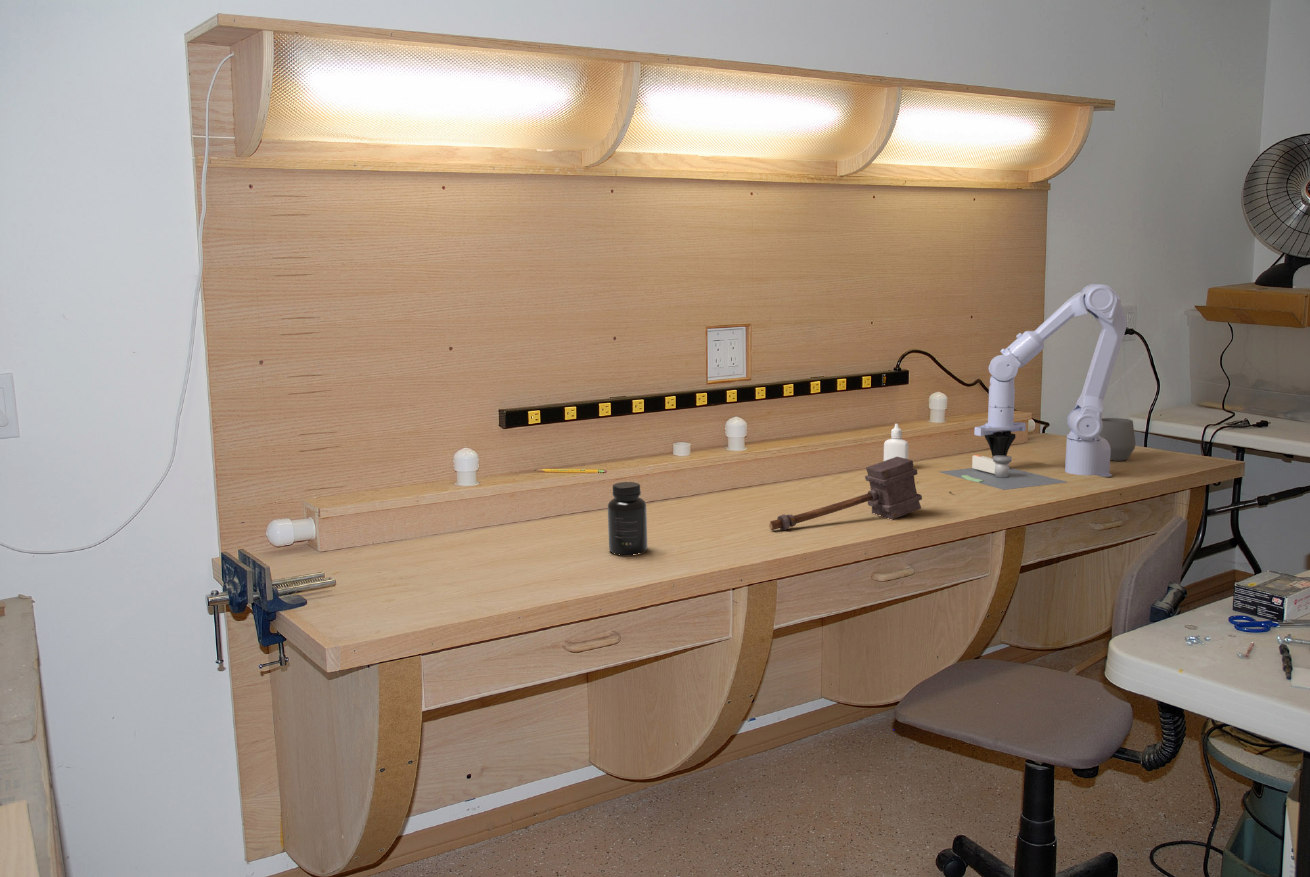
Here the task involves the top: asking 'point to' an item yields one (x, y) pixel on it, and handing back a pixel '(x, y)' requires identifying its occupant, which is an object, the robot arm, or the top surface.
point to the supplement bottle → (627, 520)
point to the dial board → (1011, 482)
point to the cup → (1119, 437)
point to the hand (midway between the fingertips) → (998, 463)
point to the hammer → (873, 494)
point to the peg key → (992, 464)
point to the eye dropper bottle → (895, 445)
